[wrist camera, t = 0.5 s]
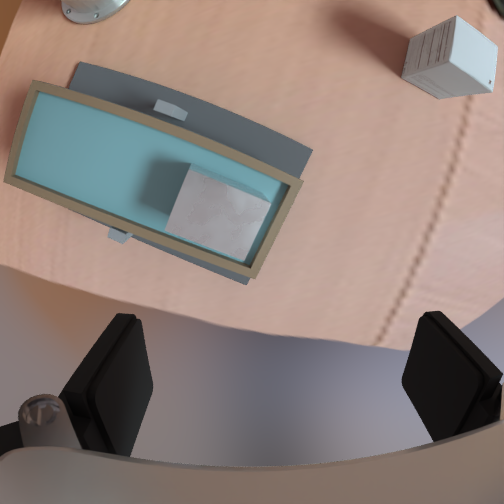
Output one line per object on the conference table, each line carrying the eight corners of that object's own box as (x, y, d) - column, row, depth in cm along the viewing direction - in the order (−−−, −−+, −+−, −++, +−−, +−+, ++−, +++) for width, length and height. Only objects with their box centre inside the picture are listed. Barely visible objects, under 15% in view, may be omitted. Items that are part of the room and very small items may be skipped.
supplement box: (447, 61, 34) (500, 47, 22) (439, 100, 37) (494, 94, 25) (408, 37, 33) (456, 13, 22) (398, 77, 36) (449, 61, 24)
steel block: (170, 216, 33) (164, 230, 28) (191, 163, 31) (188, 169, 27) (239, 242, 35) (244, 260, 30) (262, 193, 33) (271, 203, 29)
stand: (40, 192, 39) (4, 204, 31) (83, 63, 34) (51, 49, 25) (246, 281, 45) (247, 314, 36) (311, 149, 39) (329, 151, 31)
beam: (16, 177, 30) (3, 181, 27) (44, 82, 27) (32, 79, 24) (251, 268, 39) (255, 279, 36) (296, 177, 35) (303, 181, 32)
